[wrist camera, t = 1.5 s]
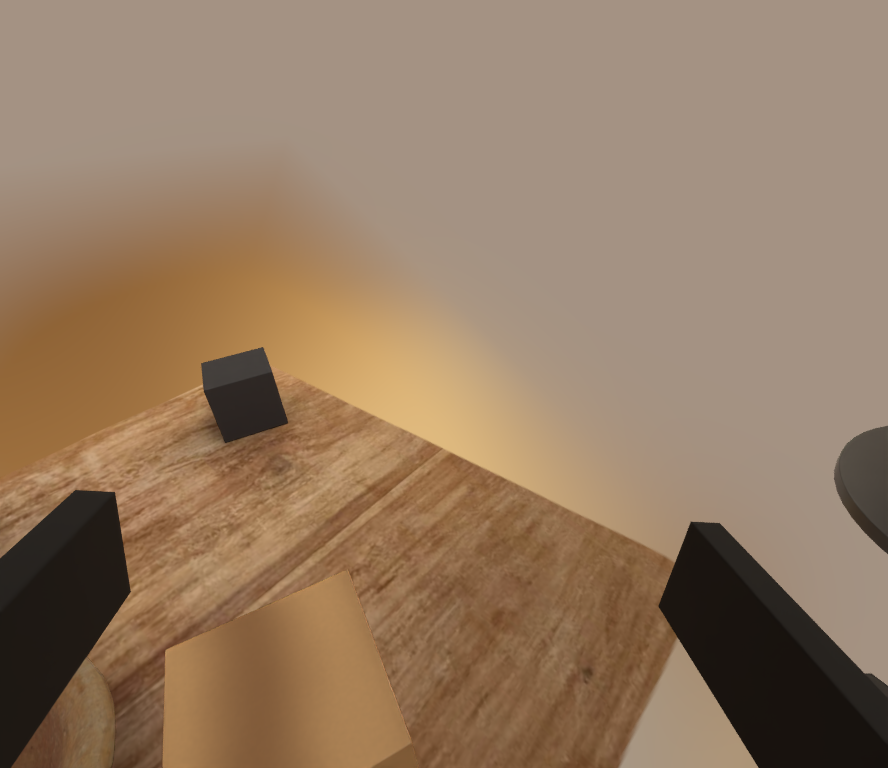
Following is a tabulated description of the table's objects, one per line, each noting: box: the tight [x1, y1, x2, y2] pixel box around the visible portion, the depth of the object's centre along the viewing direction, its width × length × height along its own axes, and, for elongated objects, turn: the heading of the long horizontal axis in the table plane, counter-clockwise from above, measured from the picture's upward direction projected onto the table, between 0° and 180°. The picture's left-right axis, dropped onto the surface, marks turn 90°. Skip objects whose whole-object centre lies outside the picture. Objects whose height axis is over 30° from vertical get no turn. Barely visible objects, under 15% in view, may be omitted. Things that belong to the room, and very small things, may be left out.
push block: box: [162, 570, 419, 768], centre depth 23 cm, size 9×9×10 cm
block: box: [201, 347, 288, 443], centre depth 55 cm, size 7×7×7 cm
